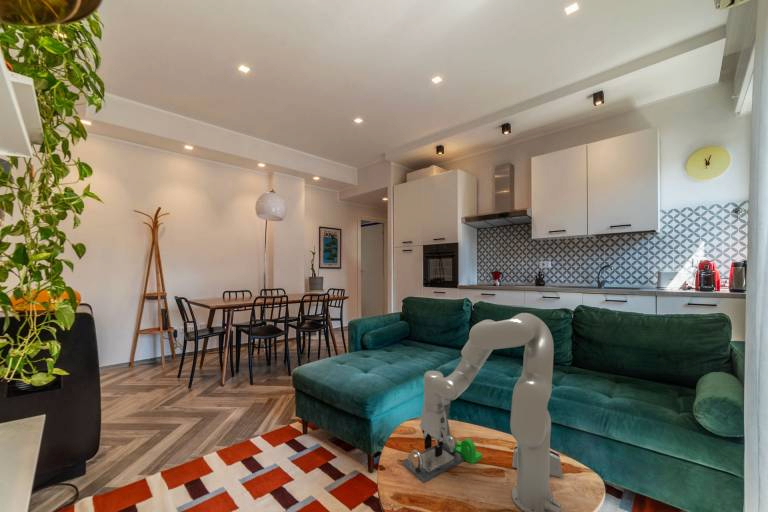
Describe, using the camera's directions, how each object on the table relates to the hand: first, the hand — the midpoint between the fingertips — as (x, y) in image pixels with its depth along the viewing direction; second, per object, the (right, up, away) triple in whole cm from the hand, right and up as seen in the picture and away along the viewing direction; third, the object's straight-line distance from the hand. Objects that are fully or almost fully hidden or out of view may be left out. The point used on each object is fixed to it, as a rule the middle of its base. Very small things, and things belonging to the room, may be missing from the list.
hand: (433, 451), depth 124 cm
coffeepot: (+5, -4, +19) cm, 20 cm away
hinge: (+37, -5, -5) cm, 38 cm away
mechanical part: (+14, -5, +5) cm, 15 cm away
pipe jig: (0, -4, 0) cm, 4 cm away
